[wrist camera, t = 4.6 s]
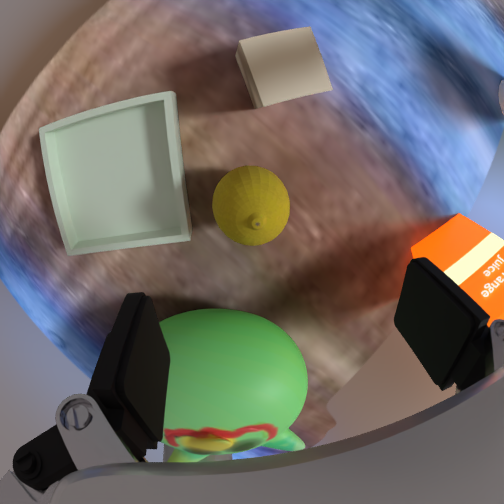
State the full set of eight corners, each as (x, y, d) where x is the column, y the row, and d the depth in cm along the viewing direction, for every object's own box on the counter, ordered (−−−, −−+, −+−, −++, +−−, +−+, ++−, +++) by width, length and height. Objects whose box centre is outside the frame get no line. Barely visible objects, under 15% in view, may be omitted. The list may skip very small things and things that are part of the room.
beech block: (310, 94, 21) (332, 89, 16) (254, 109, 21) (263, 106, 16) (292, 42, 18) (310, 26, 14) (235, 56, 18) (239, 40, 14)
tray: (192, 229, 25) (190, 240, 23) (78, 244, 24) (67, 256, 22) (176, 93, 19) (171, 90, 17) (53, 126, 18) (38, 128, 16)
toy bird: (289, 268, 28) (340, 389, 15) (290, 373, 36) (317, 468, 23) (117, 291, 27) (70, 408, 14) (162, 388, 35) (154, 481, 22)
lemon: (201, 199, 24) (193, 237, 17) (237, 146, 22) (246, 159, 15) (253, 231, 26) (267, 278, 19) (289, 182, 24) (320, 211, 17)
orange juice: (464, 257, 31) (557, 345, 13) (419, 291, 32) (508, 401, 14) (459, 211, 27) (578, 298, 10) (409, 246, 29) (528, 366, 11)
